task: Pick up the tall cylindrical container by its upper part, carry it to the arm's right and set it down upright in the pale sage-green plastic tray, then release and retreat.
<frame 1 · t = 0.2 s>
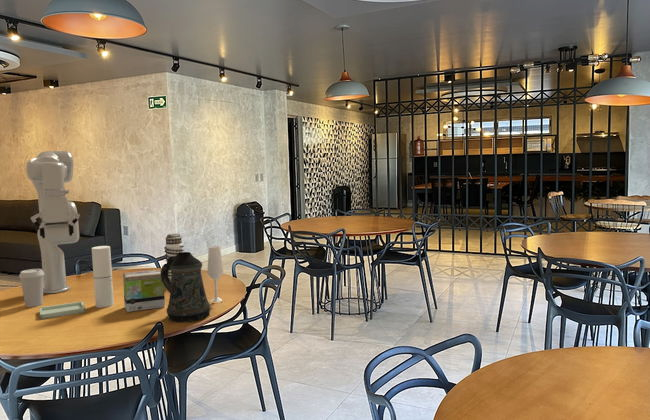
hand: (57, 236, 199), 32 cm above the table, fingers open, 9 cm apart
decorative candle: (175, 284, 248), on the table
tea box: (144, 307, 209), on the table
champagne flute: (216, 301, 215), on the table
beer stein: (185, 316, 196), on the table
tray: (62, 312, 204), on the table
coffee cup: (34, 305, 216), on the table
cylindrical container: (104, 305, 213), on the table
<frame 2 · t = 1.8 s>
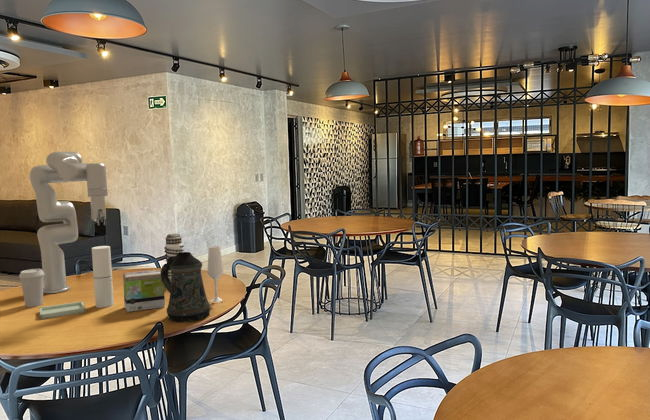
hand: (100, 233, 210), 31 cm above the table, fingers open, 9 cm apart
nothing on the table moved.
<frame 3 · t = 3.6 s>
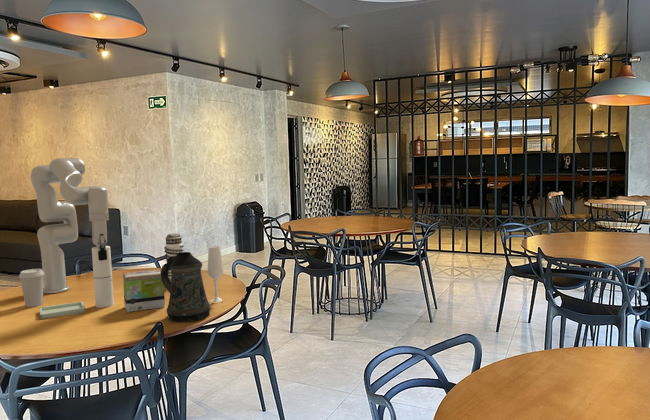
hand: (101, 258, 211), 20 cm above the table, fingers closed on cylindrical container, 7 cm apart
cylindrical container: (104, 305, 213), on the table, touching gripper
everything else where it was.
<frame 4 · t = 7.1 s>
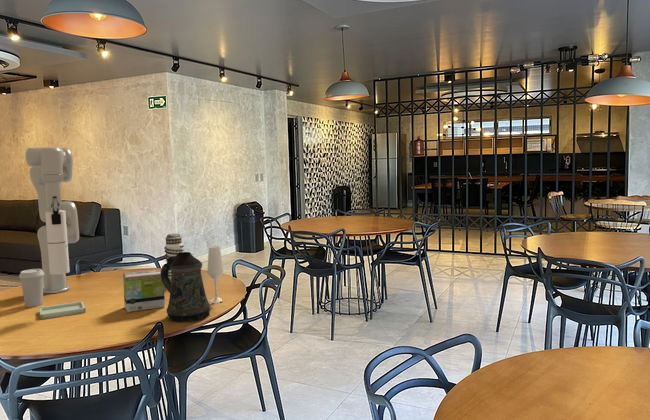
hand: (56, 222, 201), 37 cm above the table, fingers closed on cylindrical container, 7 cm apart
cylindrical container: (59, 273, 203), point 16 cm above the table, touching gripper
everything else where it was.
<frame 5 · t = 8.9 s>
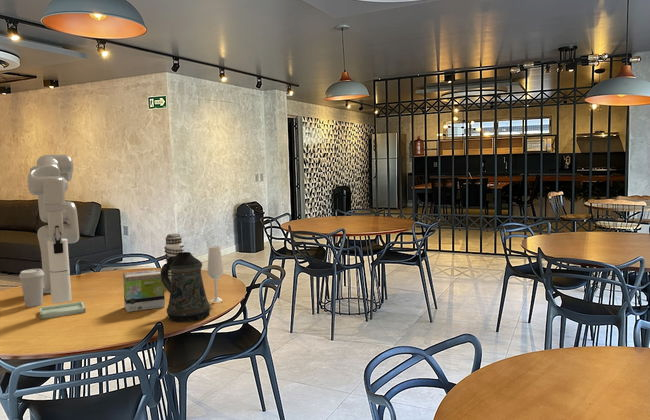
hand: (58, 251, 202), 25 cm above the table, fingers closed on cylindrical container, 7 cm apart
cylindrical container: (61, 301, 204), point 5 cm above the table, touching gripper
everything else where it was.
when the fingers open (22 cm above the table, at t = 10.6 s): cylindrical container drops 1 cm, resting on tray.
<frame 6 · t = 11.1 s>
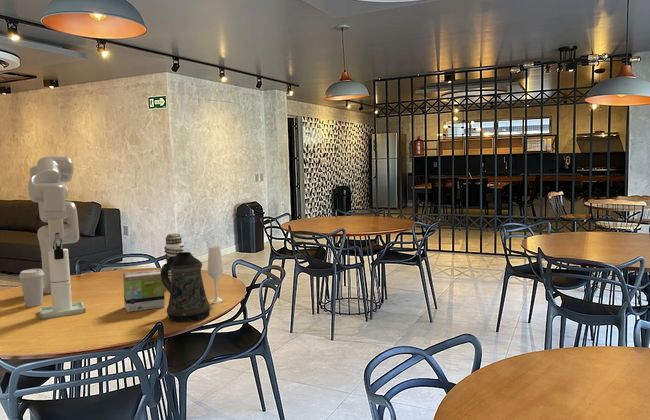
hand: (58, 257, 202), 23 cm above the table, fingers open, 9 cm apart
cylindrical container: (62, 310, 205), resting on tray
everything else where it was.
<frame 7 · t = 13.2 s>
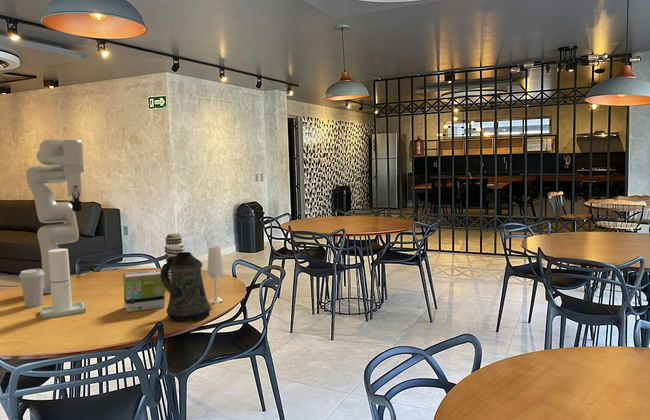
hand: (76, 210, 211), 41 cm above the table, fingers open, 9 cm apart
nothing on the table moved.
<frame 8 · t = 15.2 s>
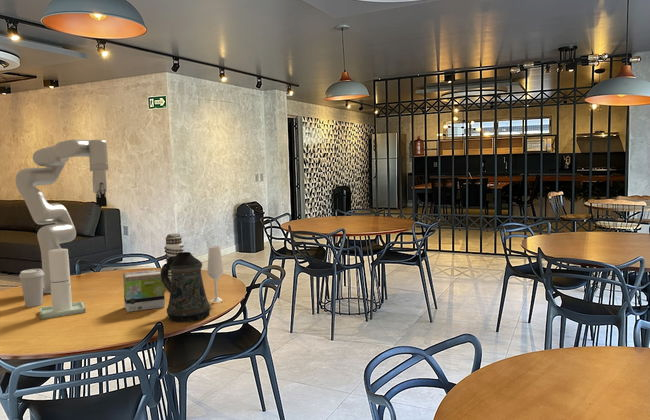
hand: (101, 205, 224), 41 cm above the table, fingers open, 9 cm apart
nothing on the table moved.
at the end: cylindrical container inside the target area on the tray (0.3 cm from its centre), point 0.4 cm above the tray's base; cylindrical container tilted 0°; the gripper is holding nothing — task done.
